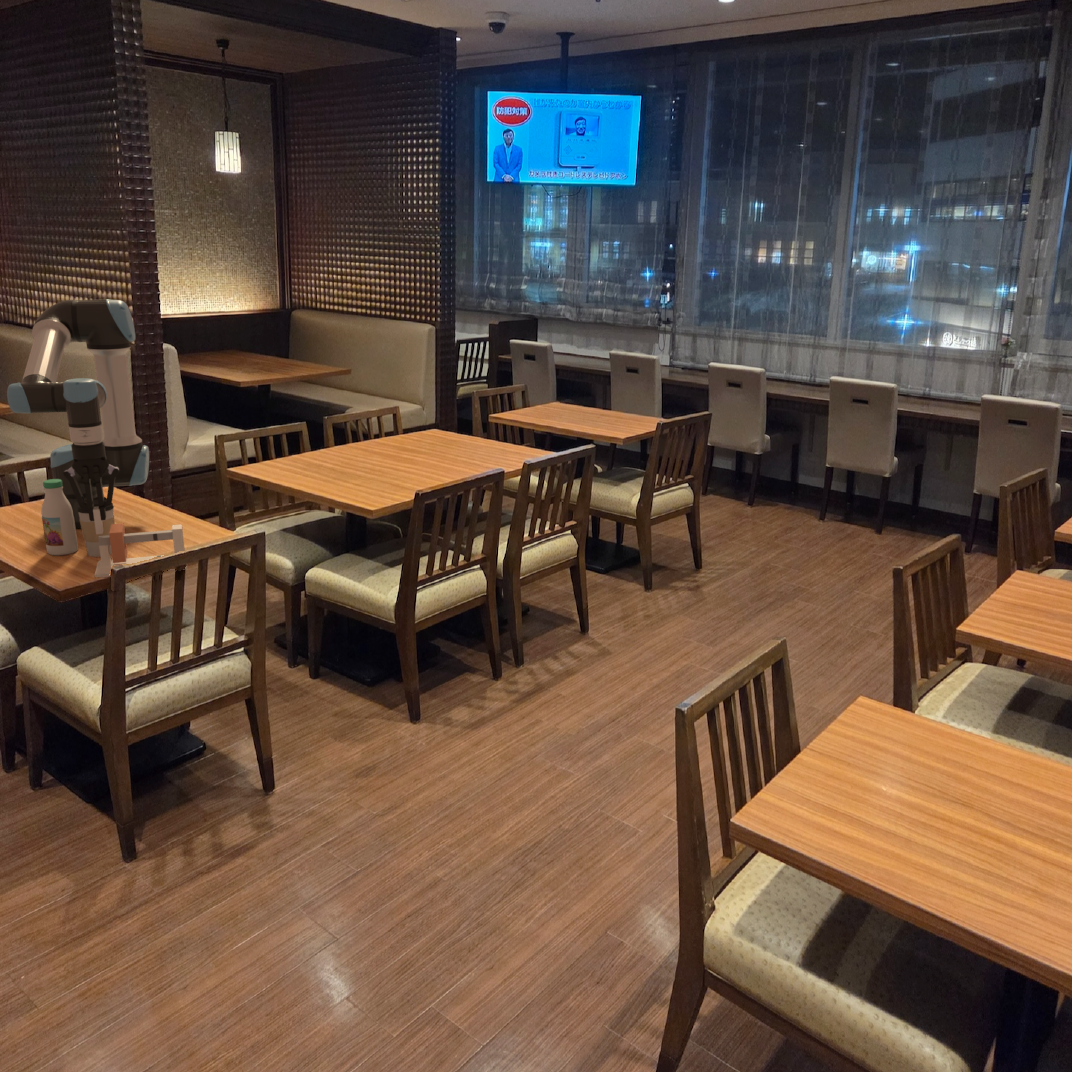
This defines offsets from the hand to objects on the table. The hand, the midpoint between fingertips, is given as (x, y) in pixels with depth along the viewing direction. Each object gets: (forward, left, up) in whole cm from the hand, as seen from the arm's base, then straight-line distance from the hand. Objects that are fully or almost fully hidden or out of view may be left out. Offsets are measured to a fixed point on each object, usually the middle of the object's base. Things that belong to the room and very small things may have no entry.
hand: (99, 532), depth 245 cm
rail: (0, +9, -10) cm, 14 cm away
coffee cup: (-15, -2, -11) cm, 18 cm away
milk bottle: (-19, -12, -11) cm, 25 cm away
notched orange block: (0, +4, -3) cm, 5 cm away
